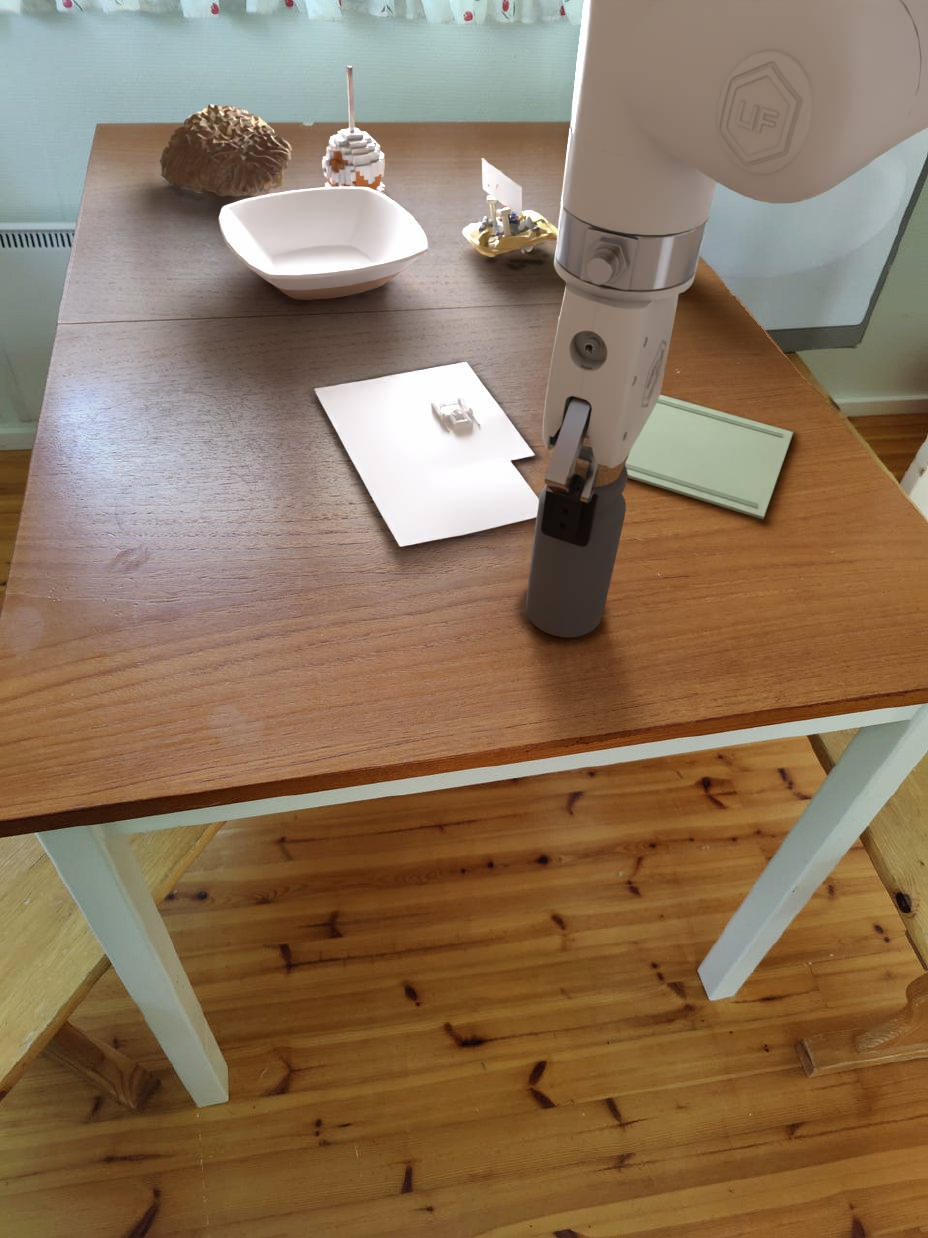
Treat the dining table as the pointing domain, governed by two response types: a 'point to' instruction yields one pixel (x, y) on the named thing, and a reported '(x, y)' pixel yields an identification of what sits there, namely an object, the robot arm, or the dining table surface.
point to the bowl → (323, 239)
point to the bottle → (577, 562)
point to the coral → (225, 153)
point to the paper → (432, 452)
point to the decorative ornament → (353, 154)
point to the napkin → (709, 455)
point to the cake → (507, 219)
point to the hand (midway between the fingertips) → (581, 507)
